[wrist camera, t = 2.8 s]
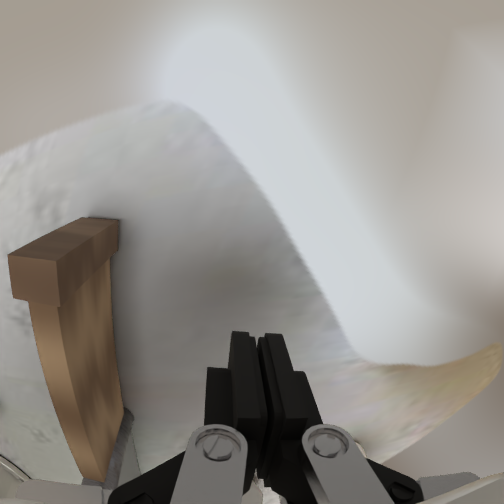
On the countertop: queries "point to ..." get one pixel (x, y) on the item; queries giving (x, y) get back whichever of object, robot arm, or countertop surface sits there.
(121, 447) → the hinge post
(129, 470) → the grey rectangular slab
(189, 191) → the countertop surface
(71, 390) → the gate
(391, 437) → the countertop surface
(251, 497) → the salt shaker
